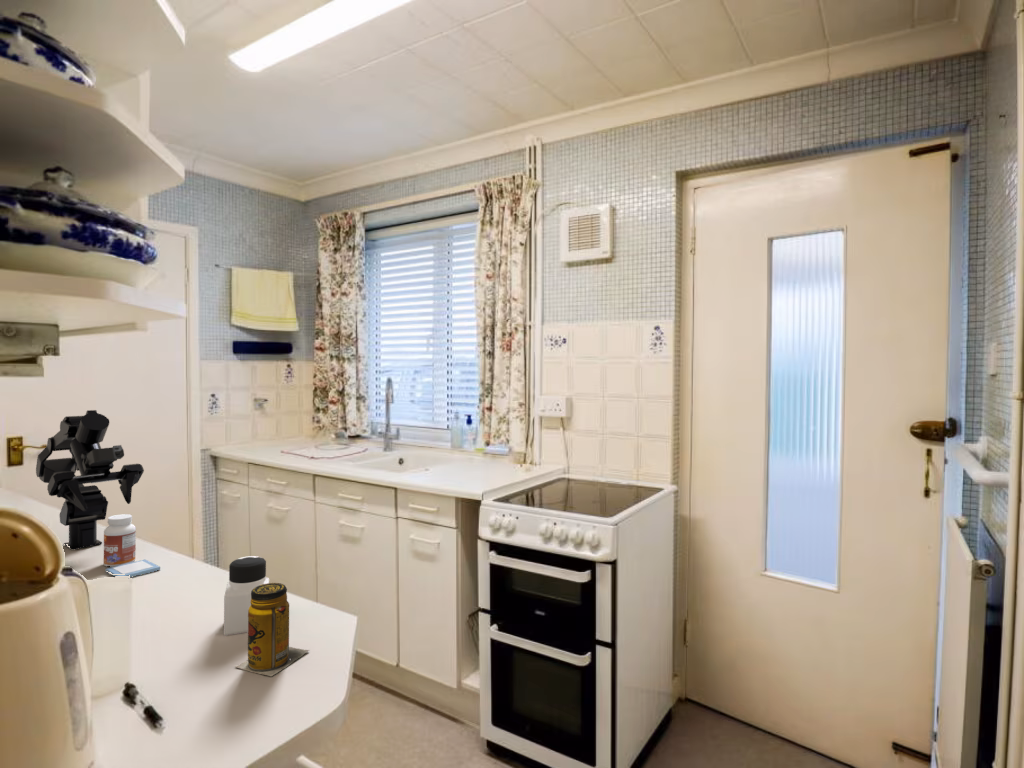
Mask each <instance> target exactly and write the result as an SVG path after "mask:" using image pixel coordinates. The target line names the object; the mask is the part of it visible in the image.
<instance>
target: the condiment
mask: <svg viewBox="0 0 1024 768" xmlns="http://www.w3.org/2000/svg"><path fill="white" fill-rule="evenodd" d="M287 592H288V588H287V587H286V584H284V583H279V582H269V583H267V584H262V585H259V586H257V587H255V588H254V589H253V590H252V591H251V606H250V607H249V610H248V632H247V660H245V661H243V662H241V663H240V664H238V665H235V666H234V667H235V668H238V669H241V670H243V671H246V672H251V673H255V674H258V675H263V676H264V675H265V676H268V677H273V676H274V675H276V674H278V673H279V672H281V671H282V670H284V669H285V668H287V667H288V666H290V665H291V664H292V663H294V662H295V661H296V660H299V658H301V657H302V656H303V657H304V655H305V654H306V653H309V651H310V649H302V648H297V647H296V648H295V647H293V646H290V603H289V601H288V595H287V594H288V593H287Z"/></svg>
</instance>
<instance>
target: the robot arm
mask: <svg viewBox="0 0 1024 768" xmlns="http://www.w3.org/2000/svg"><path fill="white" fill-rule="evenodd" d="M85 412H86V413H85V414H84V415H72V416H71V415H70V416H69V415H68V416H65V417H64V418H63V419H62V420H61V421H60V424H59V431H58V432H56V434H55V435H53V436H51V437H48V438H47V443H46V446H45V448H44V449H43V450H41V452H40V453H38V455H37V457H36V458H37V459H36V465H35V466H36V467H35V474H36V478H39V480H40V481H41V482H43V483H45V484H47V493H48V495H49V496H51V497H54V496H56V497H57V498H62V499H65V500H64V502H63V503H62V506H61V510H60V512H59V523H60V524H61V525H64V526H65V527H67V526H68V542H64V543H63V546H64V544H65V546H64V547H66V546H67V545H66V544H68V546H70V548H71V549H75V550H79V549H84V548H88V547H93V546H94V547H95V546H99V545H102V544H103V542H102V541H101V540H99V539H98V538H97V535H98V534H97V533H98V532H97V531H98V530H97V529H98V528H97V527H98V525H97V524H98V523H97V522H98V521H101V520H102V521H103V520H106V517H107V511H108V506H109V501H108V500H107V497H106V496H105V495H104V494H103V493H102V490H101V489H99V487H98V486H97V485H93V484H97V483H103V482H105V483H106V482H112V481H113V482H114V481H118V484H119V485H120V486H119V489H120V492H121V494H122V497H123V499H124V502H126V503H127V504H128V505H129V504H131V502H132V493H133V487H134V485H136V484H139V483H138V482H139V481H140V480H141V477H142V476H143V474H144V472H145V469H144V467H143V465H142V464H140V463H130V464H129V463H128V464H124V465H123V466H122V467H121V470H120V471H119V470H118V471H112V472H111V470H112V469H113V468H114V462H117V461H118V460H121V459H123V458H124V457H125V450H124V448H123V446H122V444H118V445H113V446H112V447H104V448H103V447H101V444H100V443H102V442H103V441H104V438H105V436H106V433H107V431H108V428H109V426H110V419H109V418H108V417H107V416H106V415H103V414H102V413H98V411H97V410H96V409H91V410H86V411H85ZM58 451H59V452H60V451H61V452H62V451H69V454H71V457H63V458H52V459H51V458H50V459H49V457H50V456H51V455H52V454H53V452H58ZM78 471H79V474H80V475H76V472H78ZM85 484H92V485H86V486H85ZM78 548H79V549H78ZM71 549H70V550H71Z"/></svg>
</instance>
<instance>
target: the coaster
mask: <svg viewBox="0 0 1024 768" xmlns="http://www.w3.org/2000/svg"><path fill="white" fill-rule="evenodd" d="M157 570H160V571H161V566H159V565H157V564H155V563H153V562H152V561H149V560H147V559H141V560H135V561H134V562H132V563H127V564H123V565H119V566H115V567H106V568H105V572H106V571H108V572H111V573H112V574H125V575H113V576H129V575H130V577H132V576H136V575H140V576H142V575H141V574H144V575H146V574H145V573H148V574H150V572H152V573H154V571H156V572H158V571H157ZM113 576H112V577H113ZM136 577H137V576H136ZM132 578H133V577H132Z"/></svg>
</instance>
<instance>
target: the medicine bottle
mask: <svg viewBox="0 0 1024 768" xmlns="http://www.w3.org/2000/svg"><path fill="white" fill-rule="evenodd" d="M228 568H229V570H228V571H229V573H228V574H229V575H228V576H229V577H228V578H229V579H228V582H227V584H226V588H225V591H224V592H225V593H224V596H223V597H224V598H223V635H224V636H232V635H238V634H239V635H240V634H245V633H247V634H248V610H249V607H250V606H251V591H252V590H253V589H254V588H255V587H257V586H259V585H262V584H267V583H270V578H269V577H267V560H266V559H265V558H264V557H261V556H258V555H256V556H255V555H249V556H242V557H239V558H236V559H234V560H232V561H231V563H230V564H229V565H228Z"/></svg>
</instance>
